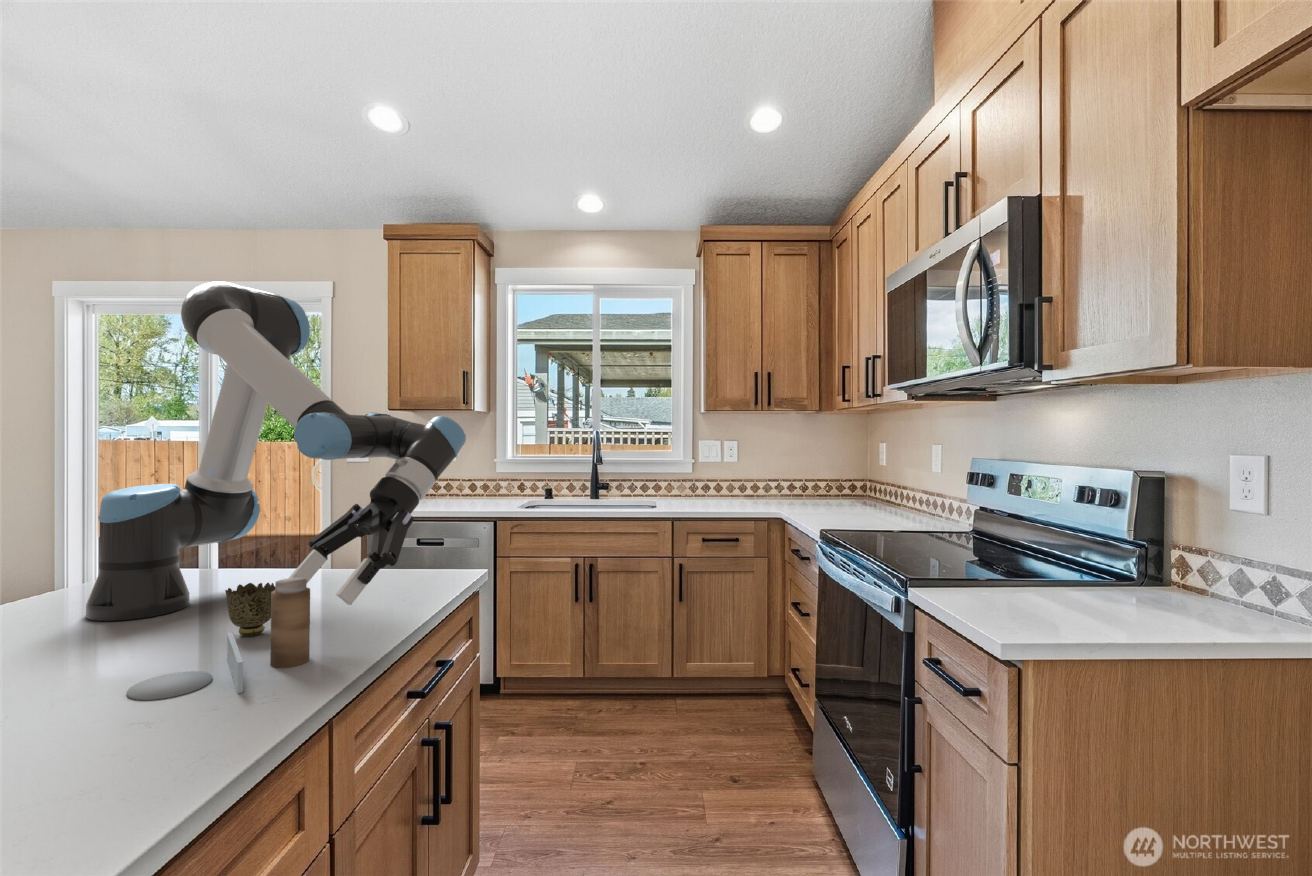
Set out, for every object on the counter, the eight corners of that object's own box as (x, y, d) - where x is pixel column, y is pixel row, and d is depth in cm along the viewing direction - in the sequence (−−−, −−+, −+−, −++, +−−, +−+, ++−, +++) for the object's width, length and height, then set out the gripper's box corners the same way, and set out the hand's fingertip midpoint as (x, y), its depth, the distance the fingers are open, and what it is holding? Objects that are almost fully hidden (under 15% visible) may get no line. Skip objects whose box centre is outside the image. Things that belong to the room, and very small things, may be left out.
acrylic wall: (227, 660, 93) (227, 633, 93) (231, 659, 93) (232, 632, 93) (237, 693, 81) (237, 662, 81) (242, 692, 82) (243, 661, 82)
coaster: (128, 683, 84) (128, 681, 84) (210, 668, 90) (210, 666, 90) (125, 706, 77) (125, 703, 77) (214, 688, 83) (214, 686, 83)
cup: (251, 643, 101) (252, 593, 101) (213, 639, 102) (214, 590, 102) (287, 629, 108) (288, 583, 108) (251, 626, 109) (252, 580, 109)
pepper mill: (268, 660, 93) (269, 579, 93) (305, 653, 96) (307, 575, 96) (272, 670, 89) (274, 586, 89) (312, 662, 92) (313, 581, 92)
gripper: (344, 472, 112) (254, 570, 100) (438, 477, 100) (350, 590, 87) (370, 499, 117) (288, 596, 104) (464, 507, 104) (383, 619, 91)
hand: (316, 594), depth 95 cm, fingers open, 13 cm apart
